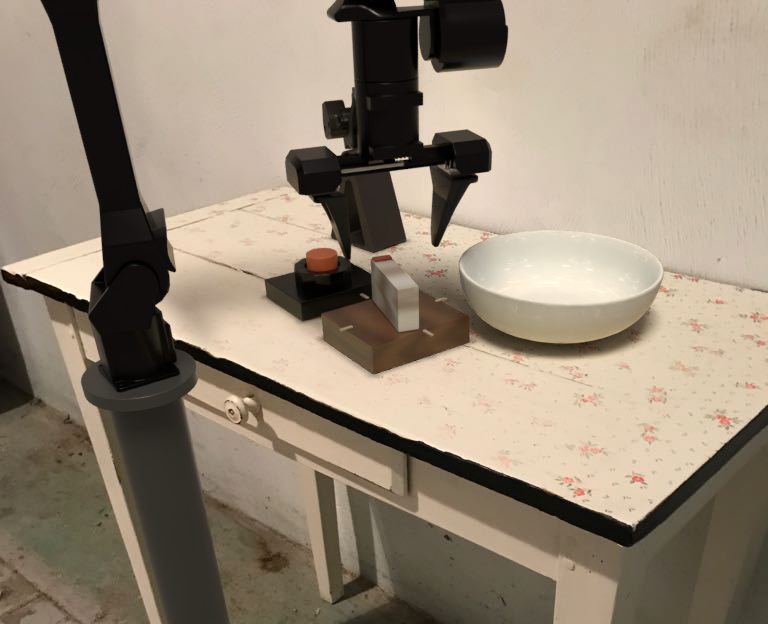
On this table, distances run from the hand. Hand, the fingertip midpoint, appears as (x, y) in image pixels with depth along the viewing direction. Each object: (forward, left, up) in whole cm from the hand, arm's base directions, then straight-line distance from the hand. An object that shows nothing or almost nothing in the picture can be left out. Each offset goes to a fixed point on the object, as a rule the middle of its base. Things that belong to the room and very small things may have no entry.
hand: (391, 252), depth 82 cm
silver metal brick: (0, 0, -6) cm, 6 cm away
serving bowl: (+16, -7, -10) cm, 20 cm away
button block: (0, +15, -9) cm, 17 cm away
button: (0, +15, -6) cm, 16 cm away
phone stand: (+15, +29, -10) cm, 34 cm away
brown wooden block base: (0, 0, -9) cm, 9 cm away
